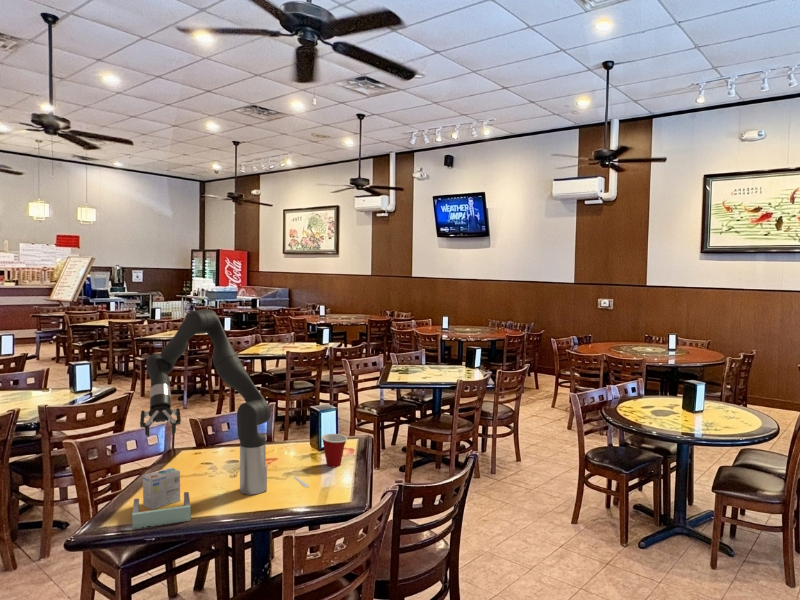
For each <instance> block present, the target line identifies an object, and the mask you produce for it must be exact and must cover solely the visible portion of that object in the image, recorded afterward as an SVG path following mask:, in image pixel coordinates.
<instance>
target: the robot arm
mask: <svg viewBox="0 0 800 600" xmlns="http://www.w3.org/2000/svg"><path fill="white" fill-rule="evenodd" d="M200 334H201V335H202V334H206V335H208V337H209V338H210V340H211V342H212V345H213V354H212V363H213V367H214V368H215V371H217V374H218V375H219V377H220V379H222V381H223V382H224V383H225V384H226V385H228V386H229V387H231V388H232V389H233V390H235V391H236V392H237V393H238V394H239V395H241V397H242V398H243V400H244V402H243V403H241V404H240V405H239V406H238V408H237V412H236V422H237V423H236V426H237V429H236V430H237V437H238V440H239V492H240V493H241V494H243V495H248V496H249V495H252V496H253V495H258V494H261V493H263V492H267V491H268V465H267V464H266V462H267V460H266V458H267V452H266V451H267V446H266V445H267V441H266V439H267V438H266V436H265V434H263V433H258V426H260V425H262V424H265V423H267V422H269V420H270V419H271V415H272V413H271V408H270V405H269V403H268V402H267V400H266V399H265V398H264V396H263V395H262V394H261V392H260V390H259V389H258V388H257V386H256V385H255V384H254V382H253V380H252V379H251V377H250V376H249V375H250V374H248V372H247V371H246V368H245V366H244V365H243V363H242V361H241V359H240V358H239V356H238V353H237V352H236V351H235V349H234V347H233V346H232V344H231V342H230V340H229V338H228V336H227V334H226V332H225V329H224V327H223V325H222V323H221V321H220V318H219V316H218V314H217V313H216V312H215V311H214V310H212V309H207V308H206V309H196V310H192V311H191V312H189V313H188V314H187V315H186V317H185V318H184V319H183V322H182V323H181V325H180V326H179V328H178V330H177V331H176V333H175V335H173V337H172V338H171V339H170V340H169V342H168V343H167V344H166V345H165V346H164V347H163V348H162V350H160V351H161V352H160V354H157V353H152V354H150V355H149V356H148V357H147V359H146V361H145V367H146V371H147V374H148V377H149V379H150V393H149V411H145V410H141V412H140V419H139V420H140V421H139V426H140V427H139V428H141V429H142V428H144V429H145V431H144V433H145V434H144V435H145V436H146V437H147V438H149V437H150V427H151V426H152V425H153V424H154V423H155V422H156V423H160V422H162V423H163V422H167V423H168V424H170V425H171V435H172V436H174V435H175V434H176V432H177V427H176V426H178V425H181V421H182V419H181V410H180V407H178V408H176V409H172V399H171V398H172V395H171V394H172V393H171V383H170V382H171V381H170V379H171V378H170V376H169V375H168V374H170V373H171V372H172V371H173V369H174V368H175V367H174V366H175V364H176V363H177V362H178V361H177V360H178V359H180V357H181V356H182V355H183V354H184V353H185V352H186V351H187V349H188V348H187V347H188V343H189V340H190V339H191V338H192V337H194V336H195V335H200ZM172 415H174V416H175V417H176V420H175V419H174V418H173V416H172ZM147 416H149V419H148V420H147V421H146V422H145V418H147Z"/></svg>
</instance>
